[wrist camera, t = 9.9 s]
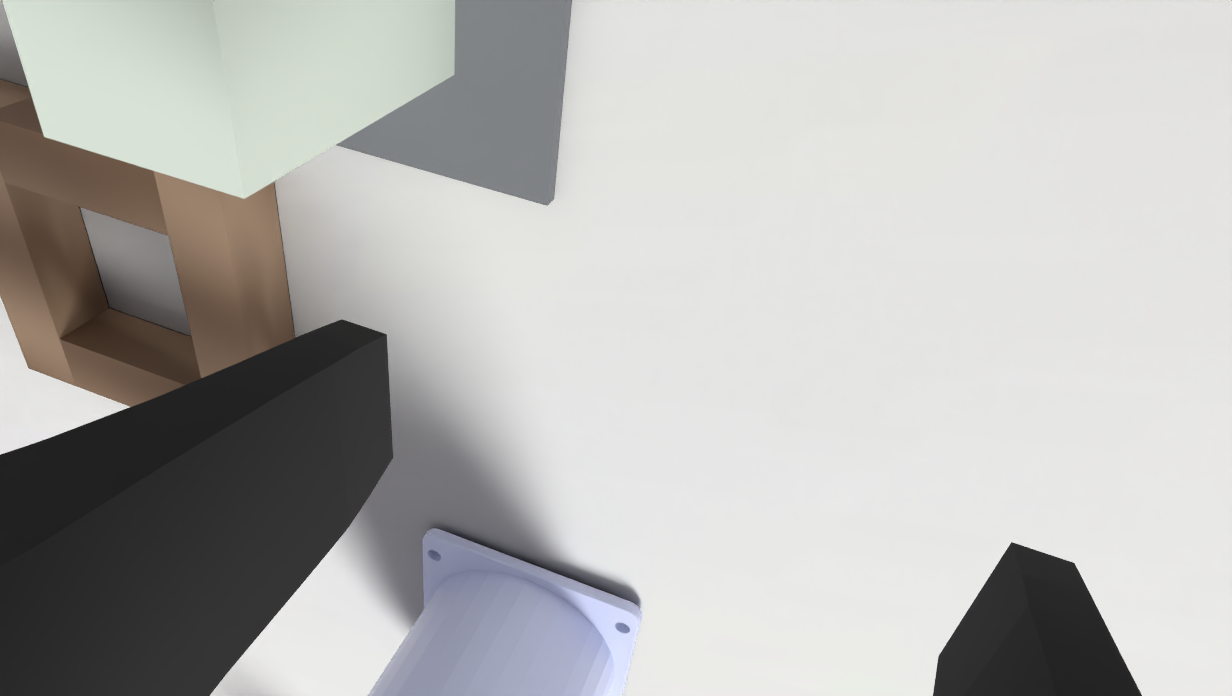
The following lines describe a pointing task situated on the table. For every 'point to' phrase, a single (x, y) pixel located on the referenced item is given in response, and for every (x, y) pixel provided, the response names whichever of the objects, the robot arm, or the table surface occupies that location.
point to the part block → (225, 77)
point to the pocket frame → (70, 283)
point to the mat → (488, 102)
